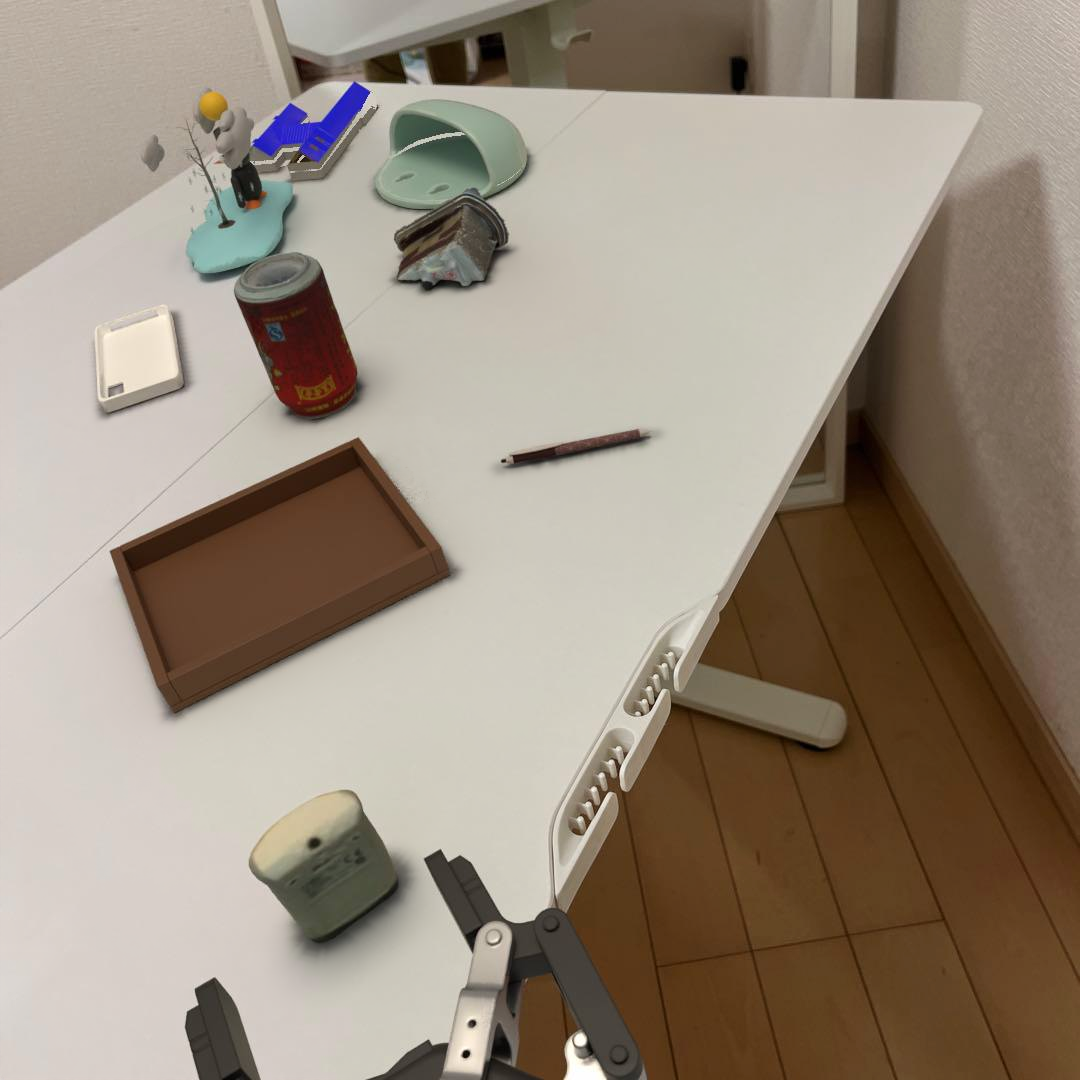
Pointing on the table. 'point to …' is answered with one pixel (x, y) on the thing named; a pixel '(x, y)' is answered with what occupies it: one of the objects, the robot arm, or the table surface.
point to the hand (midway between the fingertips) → (328, 927)
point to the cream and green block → (325, 864)
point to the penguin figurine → (230, 192)
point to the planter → (449, 154)
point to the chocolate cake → (451, 241)
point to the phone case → (137, 359)
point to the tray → (273, 571)
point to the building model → (311, 136)
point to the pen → (571, 446)
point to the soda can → (298, 333)
